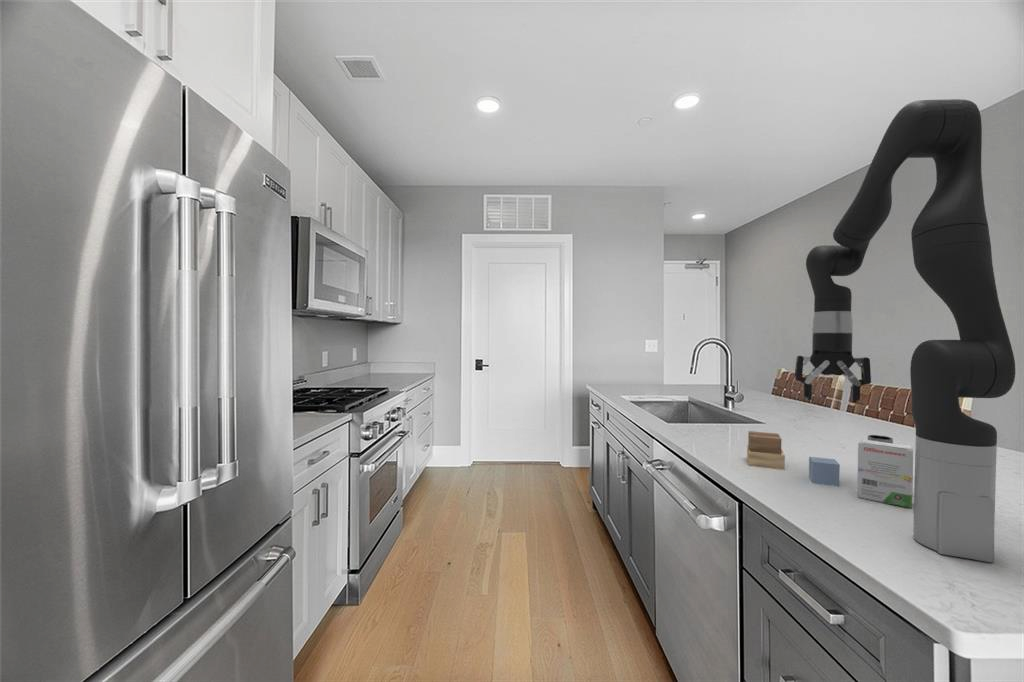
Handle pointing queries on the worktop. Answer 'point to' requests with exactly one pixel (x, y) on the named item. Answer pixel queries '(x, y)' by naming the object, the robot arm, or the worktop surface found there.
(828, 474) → the blue cube
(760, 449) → the walnut block
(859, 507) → the worktop surface
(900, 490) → the ink box
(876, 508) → the worktop surface
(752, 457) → the oak block
